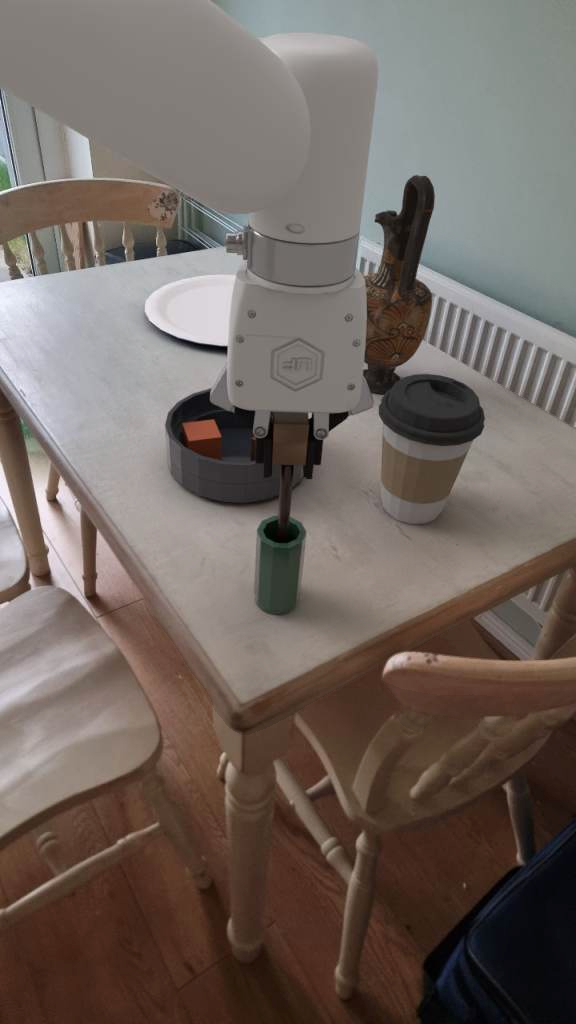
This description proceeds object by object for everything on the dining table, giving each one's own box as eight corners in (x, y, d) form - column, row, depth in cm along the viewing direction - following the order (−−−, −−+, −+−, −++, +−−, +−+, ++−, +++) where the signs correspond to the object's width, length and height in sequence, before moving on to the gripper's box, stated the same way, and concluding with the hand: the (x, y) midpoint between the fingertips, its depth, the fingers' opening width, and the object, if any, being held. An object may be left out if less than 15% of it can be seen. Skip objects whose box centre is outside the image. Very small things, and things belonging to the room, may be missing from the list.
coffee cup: (478, 513, 82) (512, 403, 72) (412, 550, 76) (440, 436, 67) (409, 466, 88) (431, 359, 79) (343, 497, 83) (359, 386, 73)
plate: (184, 368, 104) (183, 358, 103) (121, 295, 124) (120, 286, 122) (346, 336, 116) (347, 326, 115) (266, 274, 135) (266, 265, 134)
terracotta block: (183, 449, 87) (182, 422, 85) (214, 445, 88) (214, 419, 86) (189, 468, 84) (188, 441, 82) (221, 463, 85) (221, 436, 83)
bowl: (143, 485, 82) (139, 443, 78) (202, 414, 95) (201, 375, 91) (281, 521, 79) (284, 479, 75) (322, 442, 91) (326, 403, 88)
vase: (400, 362, 110) (437, 156, 91) (429, 403, 101) (477, 182, 82) (329, 366, 108) (352, 155, 89) (352, 408, 99) (383, 182, 79)
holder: (248, 608, 68) (250, 540, 62) (263, 577, 72) (267, 510, 66) (290, 620, 67) (296, 553, 62) (304, 588, 71) (311, 521, 65)
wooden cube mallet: (265, 580, 66) (273, 423, 54) (265, 557, 68) (273, 402, 57) (295, 581, 66) (309, 424, 55) (294, 557, 68) (307, 403, 57)
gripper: (177, 268, 44) (188, 494, 56) (429, 279, 45) (387, 499, 57) (187, 229, 50) (194, 441, 62) (410, 239, 51) (375, 446, 63)
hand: (287, 467), depth 59 cm, fingers closed on wooden cube mallet, 2 cm apart
